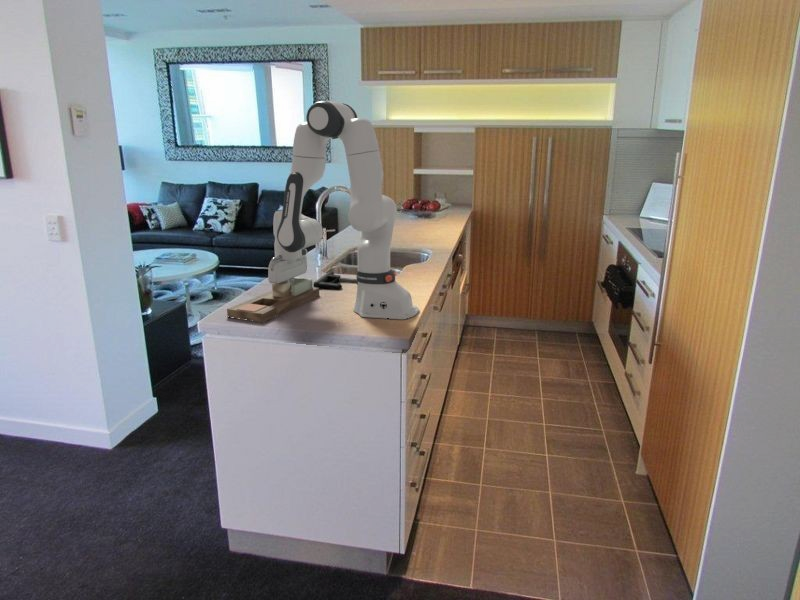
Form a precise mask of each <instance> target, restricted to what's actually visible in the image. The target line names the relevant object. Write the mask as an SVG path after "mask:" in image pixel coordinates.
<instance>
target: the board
mask: <svg viewBox="0 0 800 600" xmlns="http://www.w3.org/2000/svg"><path fill="white" fill-rule="evenodd" d="M312 287H313V288H311V289H309V290H307V291H305V292H303V293H300V294H298V295H296V296H293V295H292V291H291V290H290V295H288V296H286V297H276V296H273V291H272V290H270V291H268V292H266V293H263V294H260V295H258V296H255V297H253V298H250V299H249V300H246V301H243V302H241V303H238V304H236V305H233V306H231V307H229V308H227V309H226V315H227V317H228V316H229V317H234V318H240V319H247V320H253V321H252V322H254V321H258V322H257V323H261V322H264V323H266V322H267V320H268V321H270V320H272V319H274V318H276V317H278V316H280V315H282V314H284V312H285V313H286V311H287V312H289V311H291V310H293V309H295V308H297V307H299V306H301V305H303V304H305V303H307V302H309V301H311V300H313V299H316V298H318V297H319V296H320V288H315V287H314V286H312ZM247 304H257V305H265V306H267V307H265V308H263V309H261V310H258V311H256V312H249V311H241V310H237V309H238V308H240V307H243V306H245V305H247ZM277 315H278V316H277ZM275 316H276V317H275ZM273 317H274V318H273ZM271 318H272V319H271ZM240 319H239V320H240ZM269 319H270V320H269ZM247 320H246V321H247ZM265 321H266V322H265Z"/></svg>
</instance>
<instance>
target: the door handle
mask: <svg viewBox="0 0 800 600" xmlns="http://www.w3.org/2000/svg"><path fill="white" fill-rule="evenodd" d="M345 282H349V283H350V284H357V279H356V278H349V277H341V275H338V274H335V273H334V272H333V271H328V272H327V273H325V274H324V275H322V276H321V277H319V278H318V279H317V280H315V281H312V287H315V288H319V289H327V290H333V291H334V290H336V291H338V290H342V288H343V286H342V284H341V283H345Z"/></svg>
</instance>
